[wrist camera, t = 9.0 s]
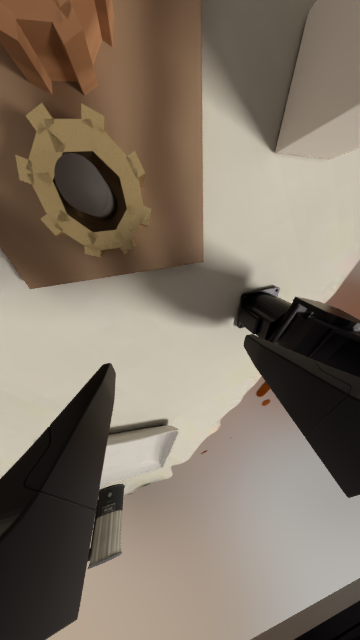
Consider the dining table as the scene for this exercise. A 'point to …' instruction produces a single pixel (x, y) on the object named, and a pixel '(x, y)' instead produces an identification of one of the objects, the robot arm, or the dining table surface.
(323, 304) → the robot arm
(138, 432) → the square plate
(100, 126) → the wooden gear
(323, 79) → the milk carton
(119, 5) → the gear board
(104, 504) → the milk frother
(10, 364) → the dining table surface
